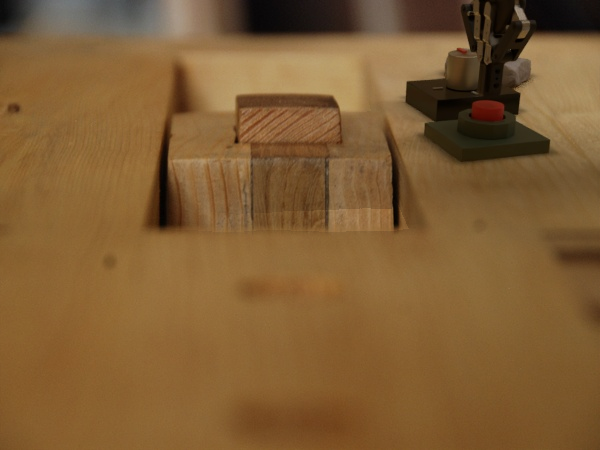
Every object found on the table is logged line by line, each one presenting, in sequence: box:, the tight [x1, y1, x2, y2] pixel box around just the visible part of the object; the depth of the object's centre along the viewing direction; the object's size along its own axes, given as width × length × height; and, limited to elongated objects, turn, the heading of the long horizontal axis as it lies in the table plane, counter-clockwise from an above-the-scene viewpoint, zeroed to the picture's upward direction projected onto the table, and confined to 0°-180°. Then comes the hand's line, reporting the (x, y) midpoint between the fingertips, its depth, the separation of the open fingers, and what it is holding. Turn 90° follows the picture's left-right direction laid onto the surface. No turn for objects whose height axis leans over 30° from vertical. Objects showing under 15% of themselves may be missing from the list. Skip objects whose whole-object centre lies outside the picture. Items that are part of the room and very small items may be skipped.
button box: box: [423, 109, 551, 163], centre depth 95 cm, size 11×10×4 cm
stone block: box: [444, 47, 532, 89], centre depth 126 cm, size 12×5×10 cm
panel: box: [405, 77, 521, 122], centre depth 111 cm, size 12×10×3 cm
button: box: [471, 100, 504, 122], centre depth 94 cm, size 4×4×2 cm
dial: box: [445, 47, 480, 91], centre depth 109 cm, size 4×4×5 cm
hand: (488, 95), depth 93 cm, fingers closed
